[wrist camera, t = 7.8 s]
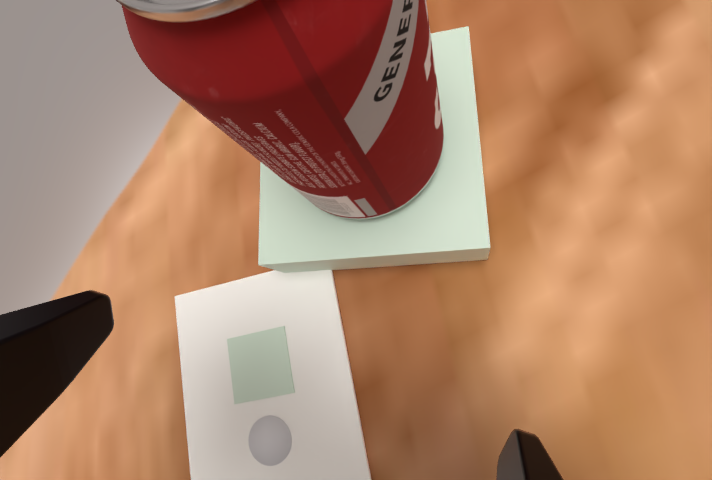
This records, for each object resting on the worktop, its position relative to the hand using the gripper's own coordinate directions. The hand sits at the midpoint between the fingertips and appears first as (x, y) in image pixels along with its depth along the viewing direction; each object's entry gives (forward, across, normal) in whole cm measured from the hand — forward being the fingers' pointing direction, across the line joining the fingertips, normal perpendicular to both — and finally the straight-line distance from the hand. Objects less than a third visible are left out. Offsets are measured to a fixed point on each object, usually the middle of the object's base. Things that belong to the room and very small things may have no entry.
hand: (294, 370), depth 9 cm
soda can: (+12, +2, -1) cm, 12 cm away
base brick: (+14, +1, 0) cm, 14 cm away
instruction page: (+7, +4, +10) cm, 13 cm away
